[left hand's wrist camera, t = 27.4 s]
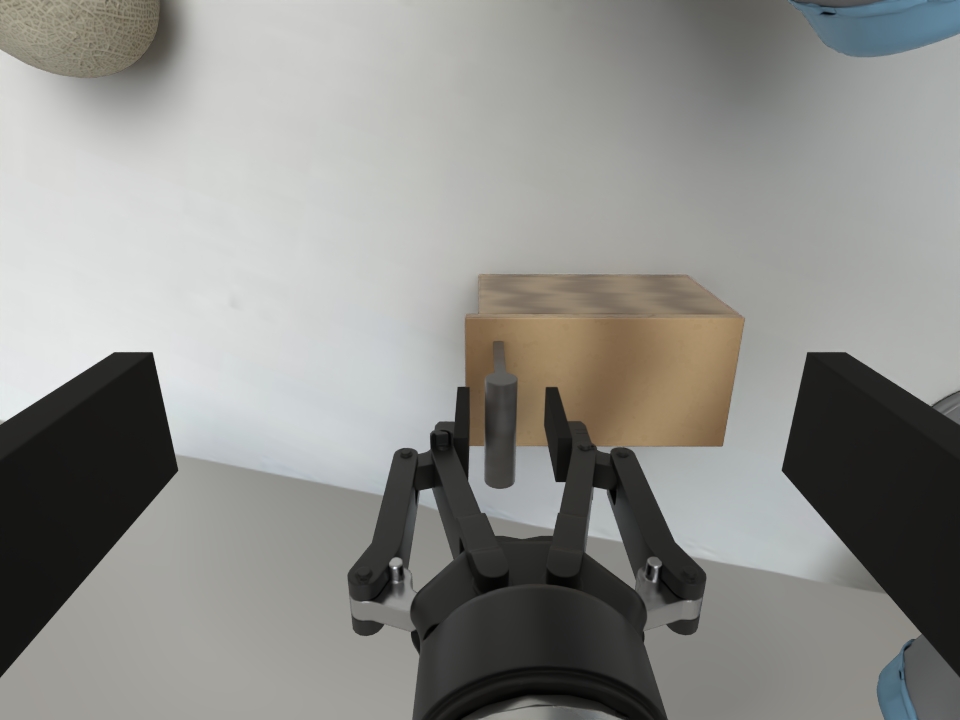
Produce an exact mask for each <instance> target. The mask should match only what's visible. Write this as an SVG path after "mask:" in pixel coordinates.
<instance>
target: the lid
mask: <svg viewBox="0 0 960 720" xmlns="http://www.w3.org/2000/svg"><path fill="white" fill-rule="evenodd" d="M744 320H745V318H744V317H742V316H741V315H735V314H466V315H465V378H466V387H470V440H469V446H485V466H484V480H485V483H486V484H487V485H488V486H490V487H492V488H497V489H503V488H508V487H510V486H512V485H513V484H514V482H515V463H516V446H548V442H547V438H546V433H545V428H544V412H545V389H546V387H558V390H559V393H560V397H561V400H562V404H563V407H564V411H565V414H566V418H567V421H581V422H582V423H584V424H585V425H586V428H587V431H588V434H589V437H590V439H591V442H592V443H593V444H594V445H595V446H723V441H724V436H725V430H726V424H727V418H728V413H729V407H730V401H731V395H732V390H733V384H734V378H735V372H736V366H737V361H738V355H739V349H740V343H741V338H742V332H743V326H744Z"/></svg>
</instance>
